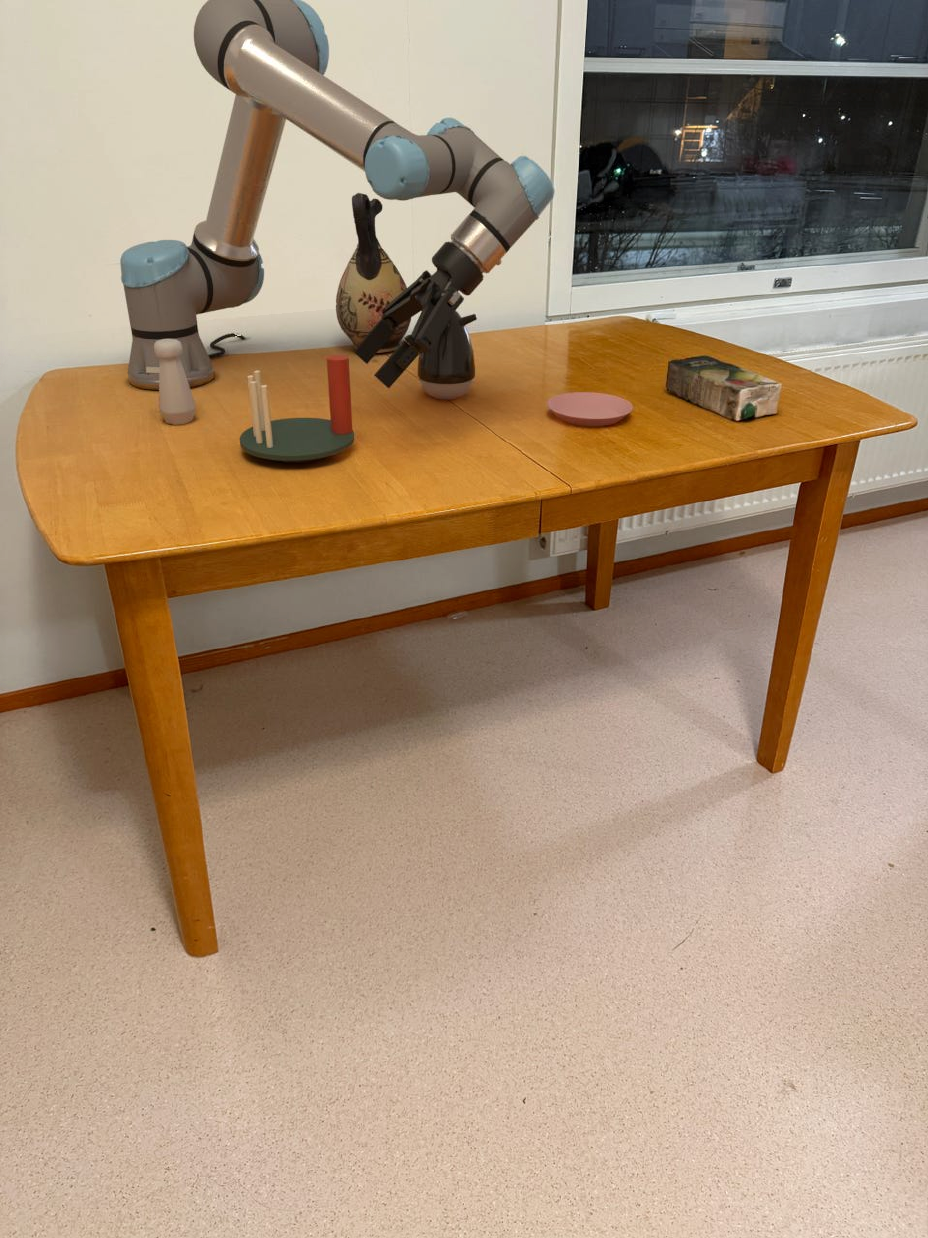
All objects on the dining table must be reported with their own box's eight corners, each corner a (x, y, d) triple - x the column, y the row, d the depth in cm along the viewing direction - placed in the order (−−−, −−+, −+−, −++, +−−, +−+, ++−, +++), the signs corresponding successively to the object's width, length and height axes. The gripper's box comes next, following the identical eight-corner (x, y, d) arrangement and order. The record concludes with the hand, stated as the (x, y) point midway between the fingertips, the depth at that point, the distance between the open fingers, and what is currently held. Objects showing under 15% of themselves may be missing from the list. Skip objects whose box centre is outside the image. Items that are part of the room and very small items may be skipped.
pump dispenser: (469, 406, 159) (471, 315, 151) (411, 401, 160) (409, 312, 153) (480, 389, 167) (482, 303, 160) (425, 385, 169) (424, 299, 161)
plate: (582, 398, 163) (583, 386, 162) (648, 416, 155) (649, 405, 154) (528, 415, 155) (529, 403, 154) (595, 436, 146) (596, 423, 145)
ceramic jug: (348, 338, 199) (340, 186, 184) (418, 341, 197) (416, 188, 182) (327, 358, 184) (316, 195, 169) (403, 362, 183) (399, 197, 167)
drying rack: (247, 470, 129) (237, 381, 123) (234, 432, 143) (224, 350, 137) (365, 458, 134) (361, 371, 127) (342, 422, 148) (337, 342, 141)
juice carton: (783, 415, 156) (790, 379, 153) (740, 424, 152) (745, 387, 149) (703, 386, 171) (708, 352, 168) (662, 393, 167) (665, 359, 164)
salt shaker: (204, 417, 152) (193, 337, 145) (184, 428, 147) (172, 346, 141) (174, 413, 154) (162, 334, 147) (153, 423, 149) (140, 342, 142)
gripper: (514, 292, 125) (410, 410, 128) (457, 261, 145) (369, 364, 149) (478, 252, 121) (371, 375, 124) (425, 226, 141) (334, 333, 144)
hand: (370, 369), depth 136 cm, fingers open, 13 cm apart
